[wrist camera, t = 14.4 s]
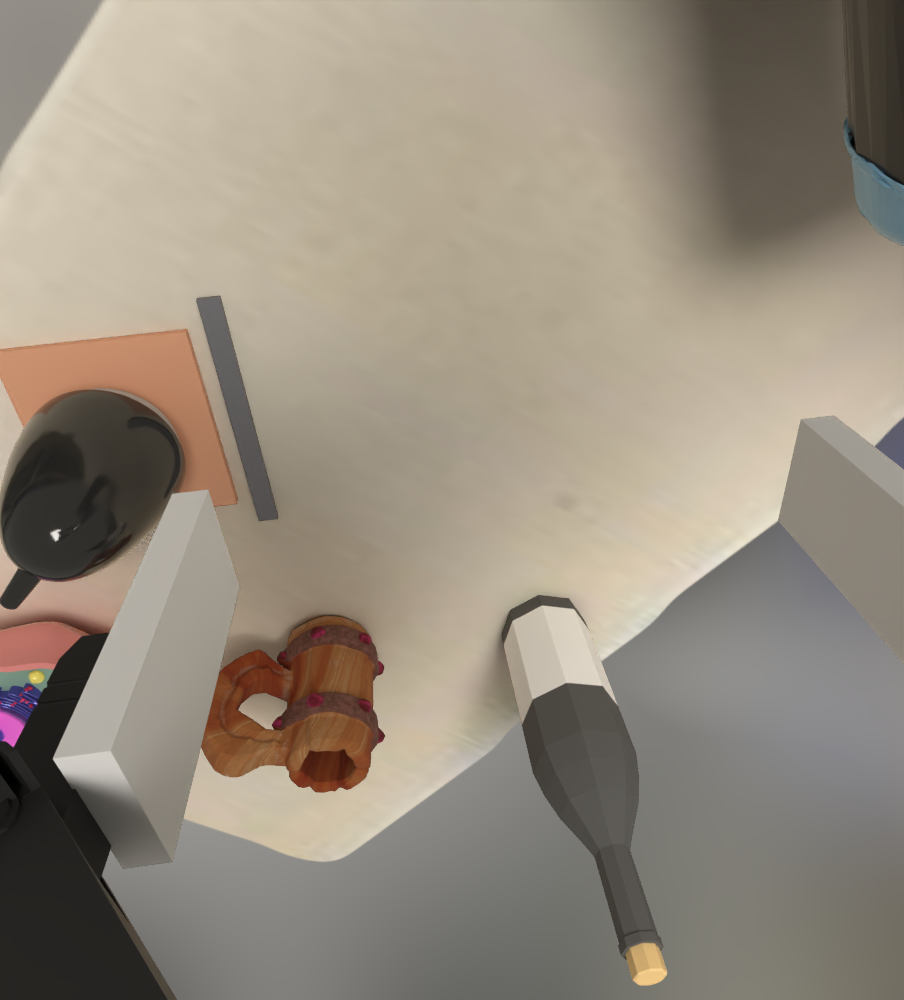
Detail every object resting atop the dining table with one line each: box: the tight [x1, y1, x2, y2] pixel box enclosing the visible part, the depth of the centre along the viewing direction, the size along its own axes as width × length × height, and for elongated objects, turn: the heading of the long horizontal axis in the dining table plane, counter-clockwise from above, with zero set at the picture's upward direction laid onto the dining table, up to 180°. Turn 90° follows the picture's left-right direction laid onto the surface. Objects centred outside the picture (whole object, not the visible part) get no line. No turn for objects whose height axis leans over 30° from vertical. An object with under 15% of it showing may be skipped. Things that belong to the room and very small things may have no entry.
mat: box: [0, 329, 238, 507], centre depth 50 cm, size 13×14×1 cm
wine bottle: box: [502, 595, 667, 985], centre depth 53 cm, size 8×8×30 cm
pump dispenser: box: [0, 388, 186, 609], centre depth 44 cm, size 10×10×15 cm
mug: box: [201, 616, 385, 793], centre depth 57 cm, size 15×8×15 cm, turn 70°
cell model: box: [0, 621, 90, 747], centre depth 57 cm, size 17×20×11 cm
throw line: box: [197, 296, 278, 521], centre depth 51 cm, size 2×18×1 cm, turn 4°
